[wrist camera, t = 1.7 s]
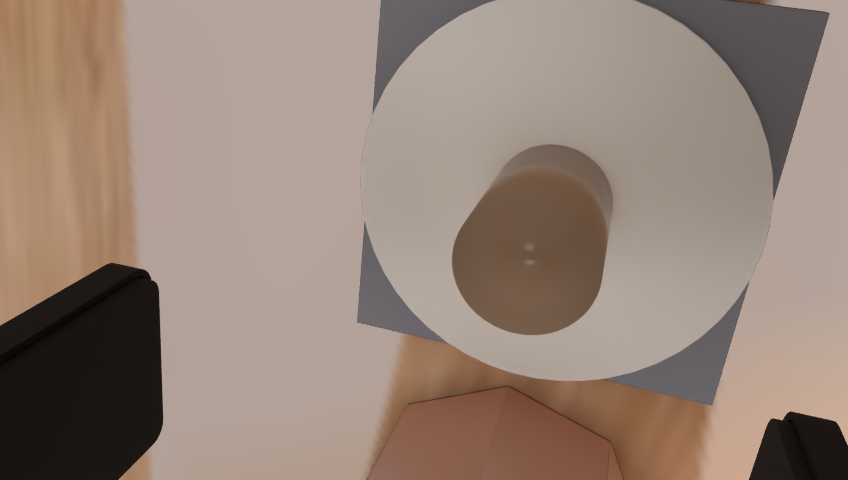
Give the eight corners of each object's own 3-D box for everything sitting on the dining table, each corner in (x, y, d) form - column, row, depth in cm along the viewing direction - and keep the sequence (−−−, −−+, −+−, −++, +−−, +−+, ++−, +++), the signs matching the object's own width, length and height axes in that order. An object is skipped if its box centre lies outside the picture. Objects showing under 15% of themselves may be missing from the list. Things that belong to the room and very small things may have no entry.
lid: (708, -83, 17) (731, -97, 12) (809, 324, 20) (860, 446, 15) (318, 69, 21) (217, 103, 16) (444, 391, 24) (390, 504, 19)
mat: (389, -41, 20) (384, -41, 20) (825, 11, 18) (830, 13, 17) (362, 315, 24) (357, 322, 24) (710, 396, 22) (711, 405, 22)
